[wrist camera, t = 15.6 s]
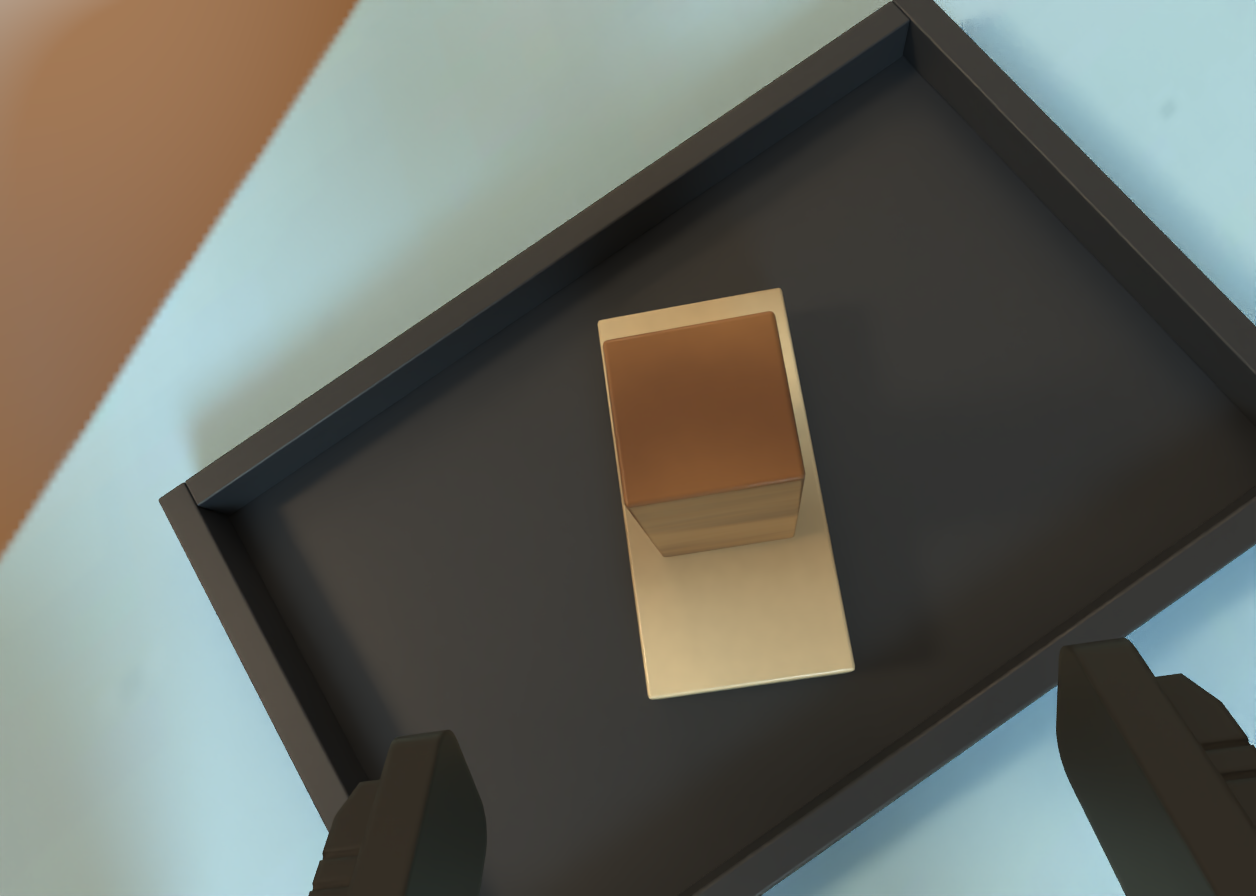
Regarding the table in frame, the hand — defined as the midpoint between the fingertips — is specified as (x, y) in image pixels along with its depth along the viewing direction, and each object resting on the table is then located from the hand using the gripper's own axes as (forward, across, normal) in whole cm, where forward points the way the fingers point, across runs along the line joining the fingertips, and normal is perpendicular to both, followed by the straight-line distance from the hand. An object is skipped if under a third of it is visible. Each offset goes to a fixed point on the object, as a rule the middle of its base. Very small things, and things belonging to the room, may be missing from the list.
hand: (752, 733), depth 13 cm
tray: (+11, 0, +4) cm, 12 cm away
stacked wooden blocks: (+11, 0, +3) cm, 11 cm away
